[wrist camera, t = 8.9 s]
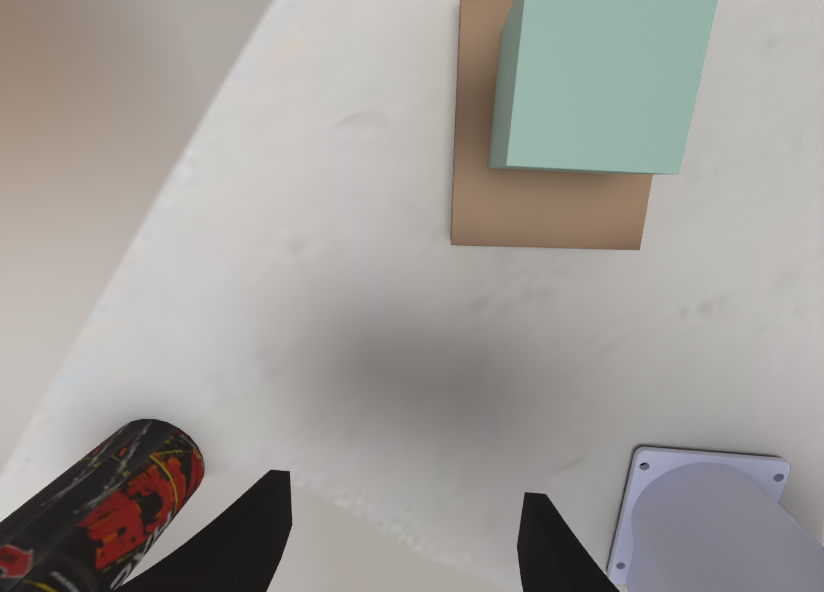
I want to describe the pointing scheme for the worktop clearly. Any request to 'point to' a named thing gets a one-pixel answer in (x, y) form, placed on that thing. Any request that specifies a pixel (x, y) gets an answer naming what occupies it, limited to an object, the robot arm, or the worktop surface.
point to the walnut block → (526, 189)
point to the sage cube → (598, 84)
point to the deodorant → (101, 512)
